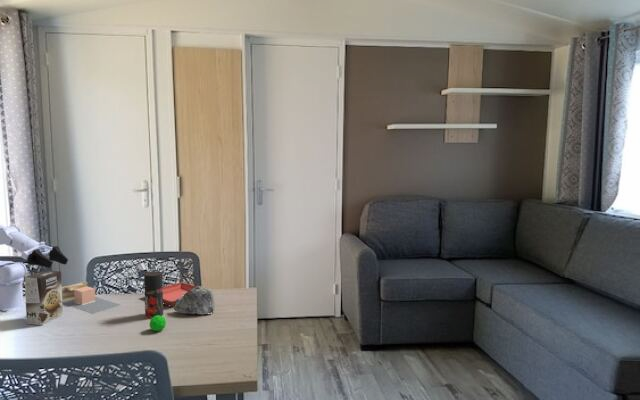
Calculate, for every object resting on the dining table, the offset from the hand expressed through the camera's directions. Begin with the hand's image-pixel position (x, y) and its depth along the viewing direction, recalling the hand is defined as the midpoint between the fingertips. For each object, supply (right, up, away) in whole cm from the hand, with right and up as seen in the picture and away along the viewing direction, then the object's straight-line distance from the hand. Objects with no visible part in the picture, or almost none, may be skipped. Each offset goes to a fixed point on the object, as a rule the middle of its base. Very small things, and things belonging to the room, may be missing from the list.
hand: (59, 263), depth 155 cm
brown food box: (-1, -18, -7) cm, 20 cm away
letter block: (+4, -16, +10) cm, 19 cm away
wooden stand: (-2, -15, +14) cm, 21 cm away
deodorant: (+34, -18, -1) cm, 39 cm away
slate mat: (+5, -16, +10) cm, 20 cm away
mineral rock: (+48, -18, +3) cm, 51 cm away
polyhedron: (+40, -20, -14) cm, 47 cm away
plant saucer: (+36, -17, +18) cm, 44 cm away
